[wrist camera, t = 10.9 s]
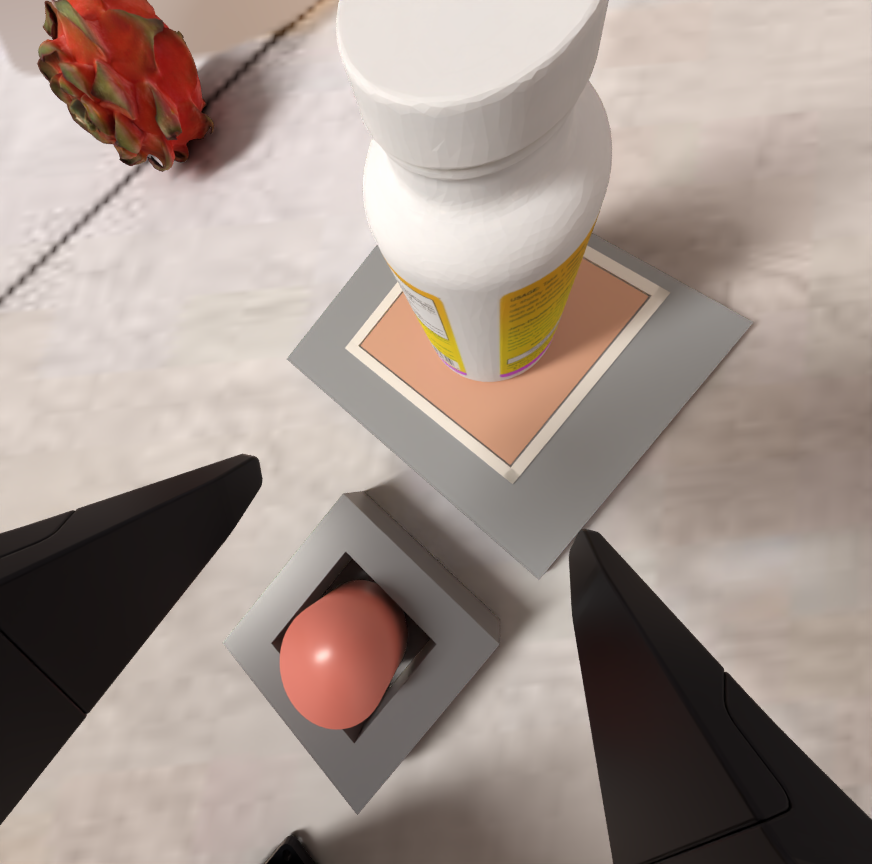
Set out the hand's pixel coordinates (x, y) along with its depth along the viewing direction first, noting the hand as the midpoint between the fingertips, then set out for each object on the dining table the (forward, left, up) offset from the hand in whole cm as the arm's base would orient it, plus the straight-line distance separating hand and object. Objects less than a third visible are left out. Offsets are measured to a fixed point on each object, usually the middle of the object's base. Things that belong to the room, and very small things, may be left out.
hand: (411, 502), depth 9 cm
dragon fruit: (+34, -7, -10) cm, 36 cm away
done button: (-1, +9, -8) cm, 12 cm away
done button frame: (-1, +9, -9) cm, 13 cm away
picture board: (+4, -7, -9) cm, 12 cm away
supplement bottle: (+4, -8, -9) cm, 13 cm away
